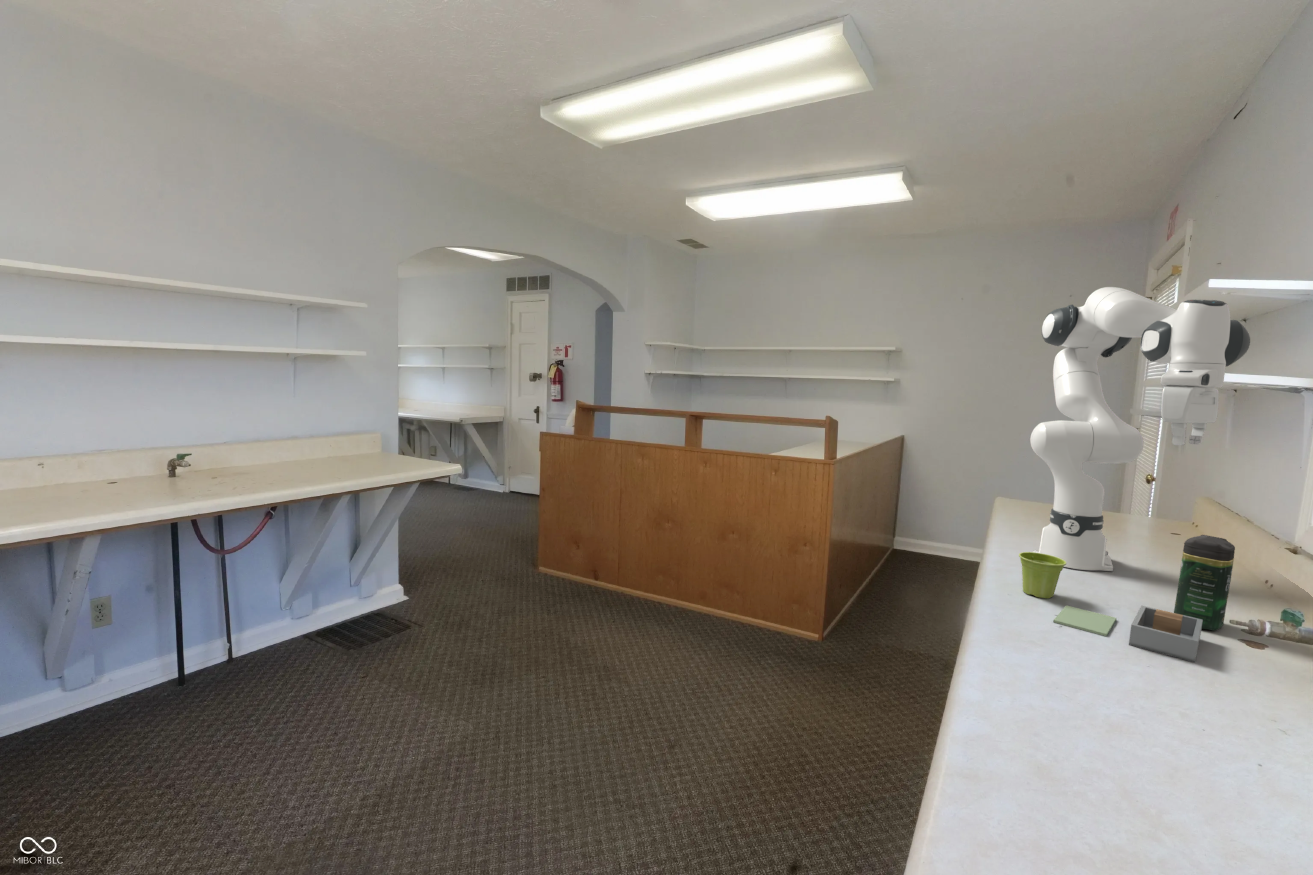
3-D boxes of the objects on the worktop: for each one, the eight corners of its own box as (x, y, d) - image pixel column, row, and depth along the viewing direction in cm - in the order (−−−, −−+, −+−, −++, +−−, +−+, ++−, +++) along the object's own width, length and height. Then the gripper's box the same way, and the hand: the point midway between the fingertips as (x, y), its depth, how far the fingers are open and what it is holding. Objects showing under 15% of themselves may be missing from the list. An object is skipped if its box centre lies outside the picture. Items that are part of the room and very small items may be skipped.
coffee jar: (1219, 635, 124) (1232, 545, 122) (1169, 622, 130) (1181, 536, 128) (1227, 623, 131) (1239, 538, 129) (1178, 611, 137) (1190, 529, 135)
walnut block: (1153, 633, 123) (1156, 608, 123) (1179, 639, 120) (1183, 615, 120) (1151, 638, 120) (1154, 614, 120) (1177, 645, 117) (1181, 620, 117)
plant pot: (1048, 588, 149) (1052, 553, 148) (1070, 602, 140) (1075, 565, 139) (1007, 585, 150) (1011, 550, 149) (1027, 599, 141) (1031, 562, 140)
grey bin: (1139, 623, 129) (1141, 605, 128) (1199, 638, 122) (1202, 619, 122) (1128, 644, 118) (1131, 624, 118) (1194, 662, 112) (1197, 641, 111)
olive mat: (1066, 607, 137) (1066, 605, 137) (1116, 619, 130) (1116, 617, 130) (1053, 622, 128) (1053, 619, 128) (1106, 636, 122) (1106, 633, 122)
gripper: (1194, 379, 137) (1186, 442, 138) (1157, 376, 125) (1149, 443, 127) (1231, 380, 131) (1223, 445, 133) (1197, 376, 120) (1188, 447, 121)
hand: (1186, 444), depth 130 cm, fingers open, 8 cm apart
